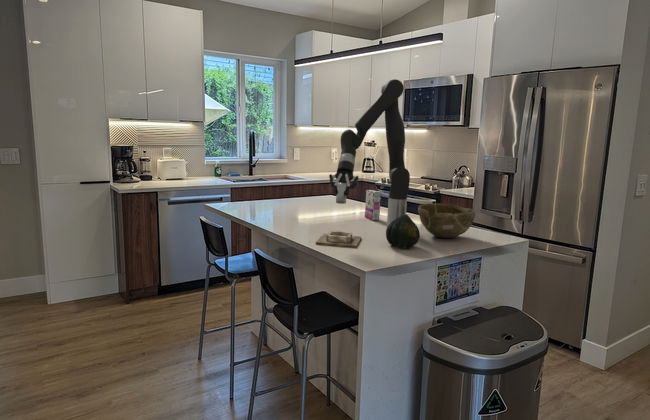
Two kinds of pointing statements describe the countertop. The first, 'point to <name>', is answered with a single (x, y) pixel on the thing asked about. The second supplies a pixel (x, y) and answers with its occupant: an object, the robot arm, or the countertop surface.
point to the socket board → (339, 239)
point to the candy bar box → (372, 204)
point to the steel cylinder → (341, 193)
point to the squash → (402, 232)
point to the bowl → (445, 219)
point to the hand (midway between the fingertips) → (340, 194)
